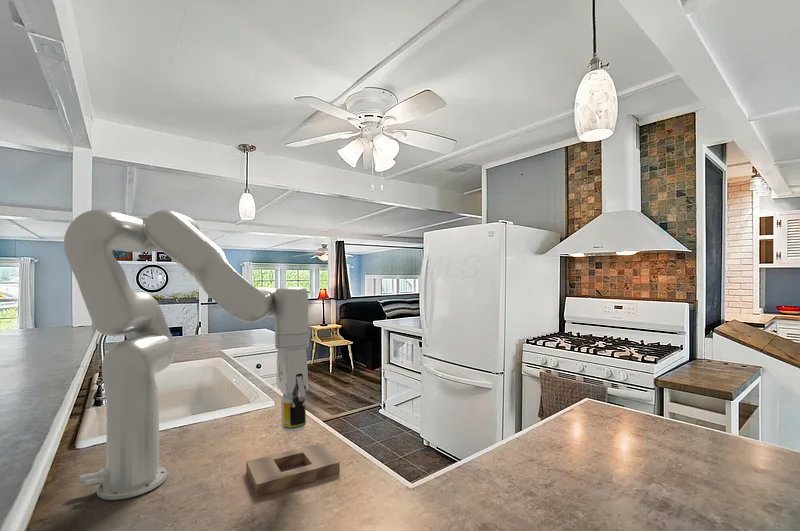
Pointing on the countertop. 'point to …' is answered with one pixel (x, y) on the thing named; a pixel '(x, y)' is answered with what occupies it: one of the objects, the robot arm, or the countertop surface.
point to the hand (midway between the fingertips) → (293, 419)
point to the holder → (272, 479)
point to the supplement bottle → (286, 414)
